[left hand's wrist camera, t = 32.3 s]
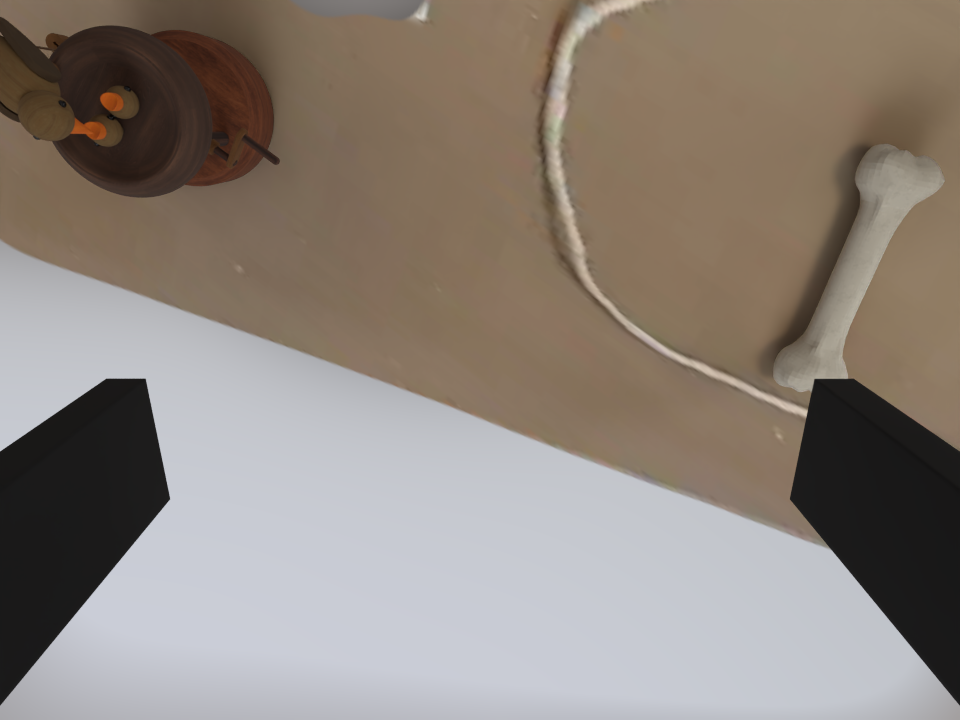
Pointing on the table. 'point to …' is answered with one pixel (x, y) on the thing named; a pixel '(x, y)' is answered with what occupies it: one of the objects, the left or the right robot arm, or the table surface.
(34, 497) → the left robot arm
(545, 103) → the table surface
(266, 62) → the table surface
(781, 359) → the dog toy
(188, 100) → the brown wooden figurine
